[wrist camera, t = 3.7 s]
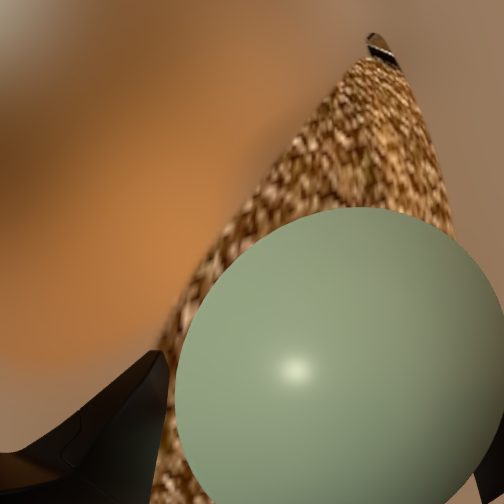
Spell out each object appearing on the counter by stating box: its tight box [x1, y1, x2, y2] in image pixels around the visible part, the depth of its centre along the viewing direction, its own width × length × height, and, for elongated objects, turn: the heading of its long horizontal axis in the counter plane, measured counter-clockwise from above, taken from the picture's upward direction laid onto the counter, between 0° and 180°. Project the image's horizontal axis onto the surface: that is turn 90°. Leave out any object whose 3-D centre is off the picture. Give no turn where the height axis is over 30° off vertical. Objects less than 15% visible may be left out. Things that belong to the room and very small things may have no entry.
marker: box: [175, 207, 504, 504], centre depth 8 cm, size 5×5×13 cm
